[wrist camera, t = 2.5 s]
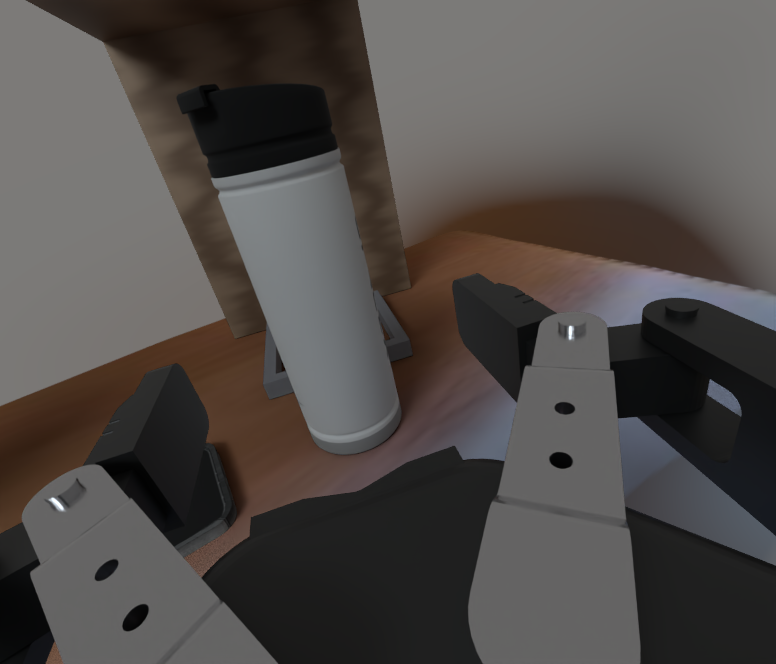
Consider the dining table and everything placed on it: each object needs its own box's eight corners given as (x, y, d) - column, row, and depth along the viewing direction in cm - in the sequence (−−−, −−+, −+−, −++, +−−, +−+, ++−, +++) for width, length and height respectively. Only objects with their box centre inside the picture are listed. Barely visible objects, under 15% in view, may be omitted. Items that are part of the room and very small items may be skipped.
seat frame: (269, 399, 32) (263, 384, 31) (271, 334, 42) (266, 321, 41) (412, 355, 33) (409, 339, 32) (380, 302, 44) (377, 290, 43)
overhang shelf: (218, 415, 31) (-38, -75, 18) (236, 330, 45) (99, 16, 31) (457, 341, 34) (392, -140, 20) (406, 282, 47) (346, -30, 34)
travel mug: (289, 443, 27) (144, 106, 17) (350, 385, 31) (260, 92, 22) (362, 474, 23) (230, 70, 14) (419, 403, 28) (348, 62, 18)
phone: (-61, 574, 22) (211, 437, 28) (-46, 585, 23) (218, 449, 28) (-135, 734, 16) (236, 515, 22) (-113, 744, 16) (243, 528, 22)
